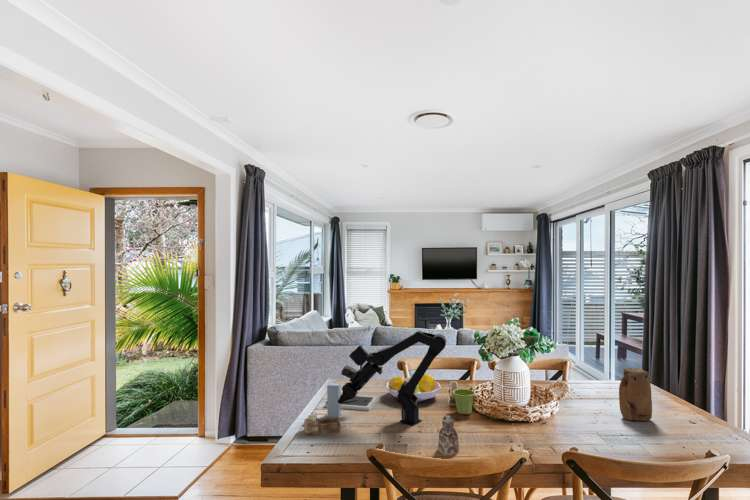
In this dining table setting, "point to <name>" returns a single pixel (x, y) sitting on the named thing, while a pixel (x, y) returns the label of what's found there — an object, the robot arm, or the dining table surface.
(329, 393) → the light blue tall bar
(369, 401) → the picture frame
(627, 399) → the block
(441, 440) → the figurine
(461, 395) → the plant pot
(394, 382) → the fruit bowl
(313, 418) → the offcut stack
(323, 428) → the rack
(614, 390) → the dining table surface
